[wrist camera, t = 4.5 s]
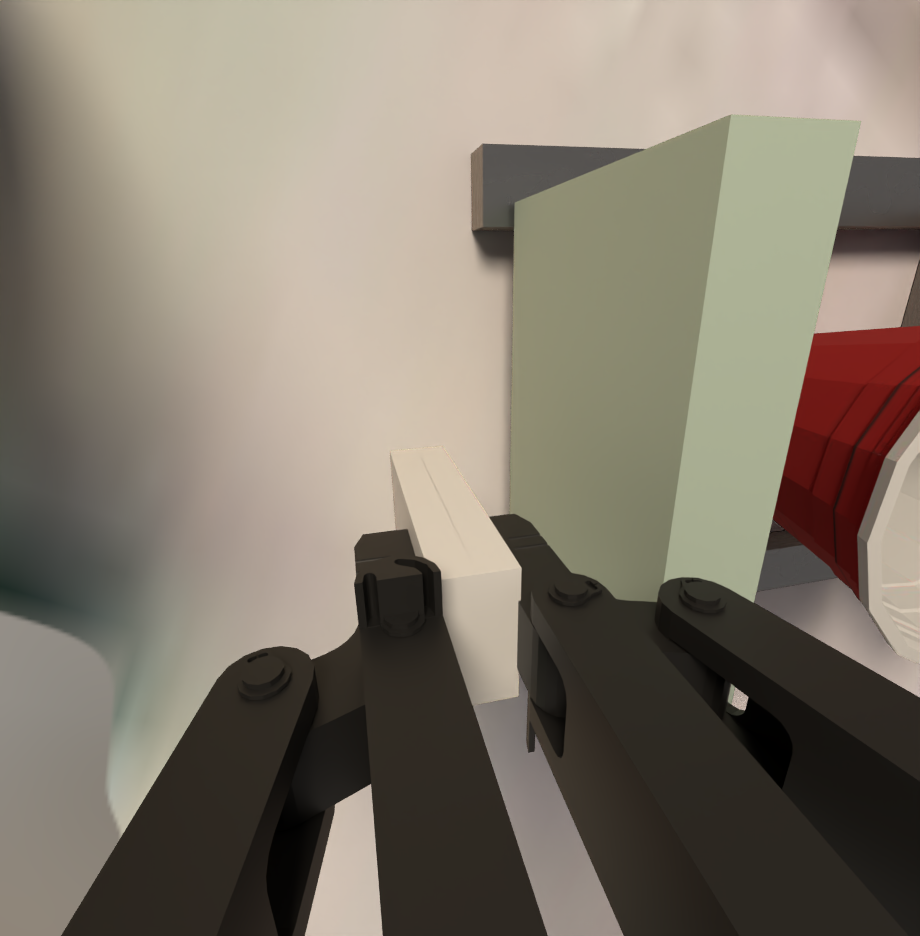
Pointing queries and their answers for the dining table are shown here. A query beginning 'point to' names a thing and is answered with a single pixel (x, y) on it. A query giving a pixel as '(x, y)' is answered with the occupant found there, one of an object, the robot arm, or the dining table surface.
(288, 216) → the dining table surface
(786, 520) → the plastic cup
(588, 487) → the block
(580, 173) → the vise bed
